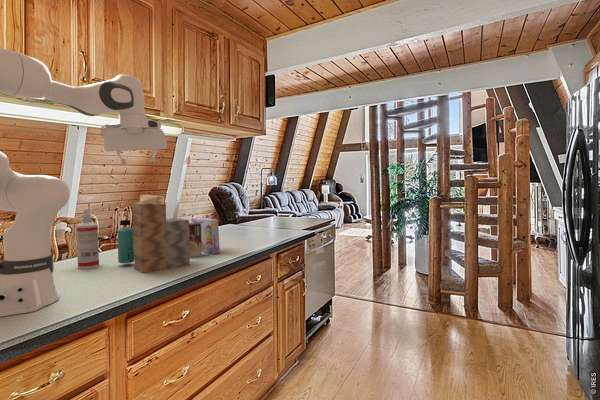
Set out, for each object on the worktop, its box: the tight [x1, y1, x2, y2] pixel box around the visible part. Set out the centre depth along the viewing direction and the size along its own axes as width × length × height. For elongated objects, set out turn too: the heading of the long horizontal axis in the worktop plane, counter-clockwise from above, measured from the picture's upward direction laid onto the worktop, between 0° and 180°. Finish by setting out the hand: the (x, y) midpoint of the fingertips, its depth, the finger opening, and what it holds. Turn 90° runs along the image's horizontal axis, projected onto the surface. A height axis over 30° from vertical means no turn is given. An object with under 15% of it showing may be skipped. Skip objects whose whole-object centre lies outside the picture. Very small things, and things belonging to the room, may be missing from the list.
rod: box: [139, 194, 165, 205], centre depth 139 cm, size 3×20×3 cm, turn 42°
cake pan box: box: [191, 216, 221, 255], centre depth 176 cm, size 19×5×18 cm, turn 48°
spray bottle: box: [75, 208, 100, 270], centre depth 145 cm, size 8×8×25 cm
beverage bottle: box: [117, 219, 134, 264], centre depth 148 cm, size 6×7×20 cm
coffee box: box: [189, 222, 203, 258], centre depth 166 cm, size 9×6×16 cm
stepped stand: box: [132, 201, 191, 274], centre depth 145 cm, size 20×10×28 cm, turn 132°
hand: (138, 163), depth 121 cm, fingers open, 8 cm apart
